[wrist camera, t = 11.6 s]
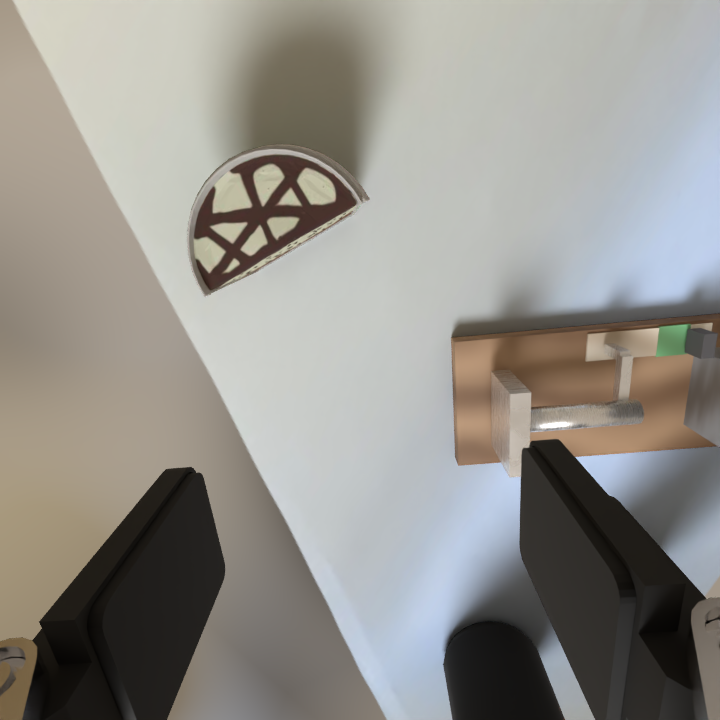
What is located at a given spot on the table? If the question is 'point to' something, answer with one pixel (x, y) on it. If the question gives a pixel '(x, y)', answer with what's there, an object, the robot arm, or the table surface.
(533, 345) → the gauge board
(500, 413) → the plunger
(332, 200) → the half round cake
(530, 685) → the coffee jar
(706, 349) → the dark grey small block
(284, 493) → the table surface
